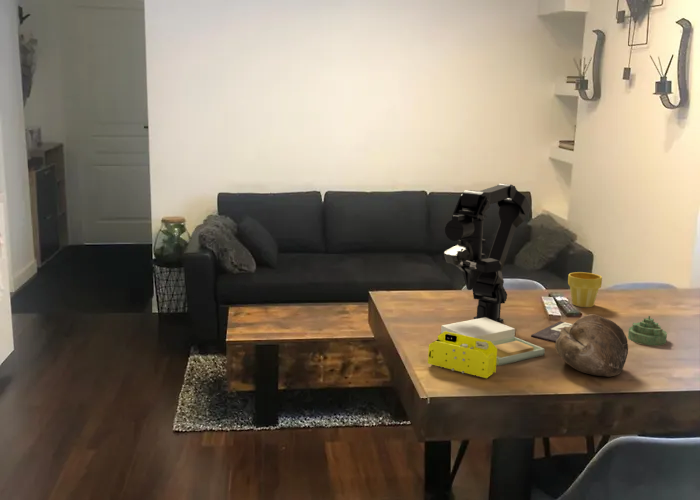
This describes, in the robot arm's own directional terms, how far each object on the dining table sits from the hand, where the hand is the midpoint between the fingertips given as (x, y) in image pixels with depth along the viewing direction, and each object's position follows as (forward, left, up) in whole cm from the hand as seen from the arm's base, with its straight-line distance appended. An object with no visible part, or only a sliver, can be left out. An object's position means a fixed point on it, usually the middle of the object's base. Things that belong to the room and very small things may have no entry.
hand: (469, 289), depth 215 cm
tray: (+4, +20, -12) cm, 24 cm away
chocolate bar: (-22, +15, -13) cm, 29 cm away
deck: (+4, +9, -12) cm, 15 cm away
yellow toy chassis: (+22, +24, -12) cm, 35 cm away
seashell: (-7, +38, -12) cm, 40 cm away
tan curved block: (+4, +22, -10) cm, 24 cm away
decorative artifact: (-39, +31, -12) cm, 51 cm away
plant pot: (-51, -2, -12) cm, 53 cm away
